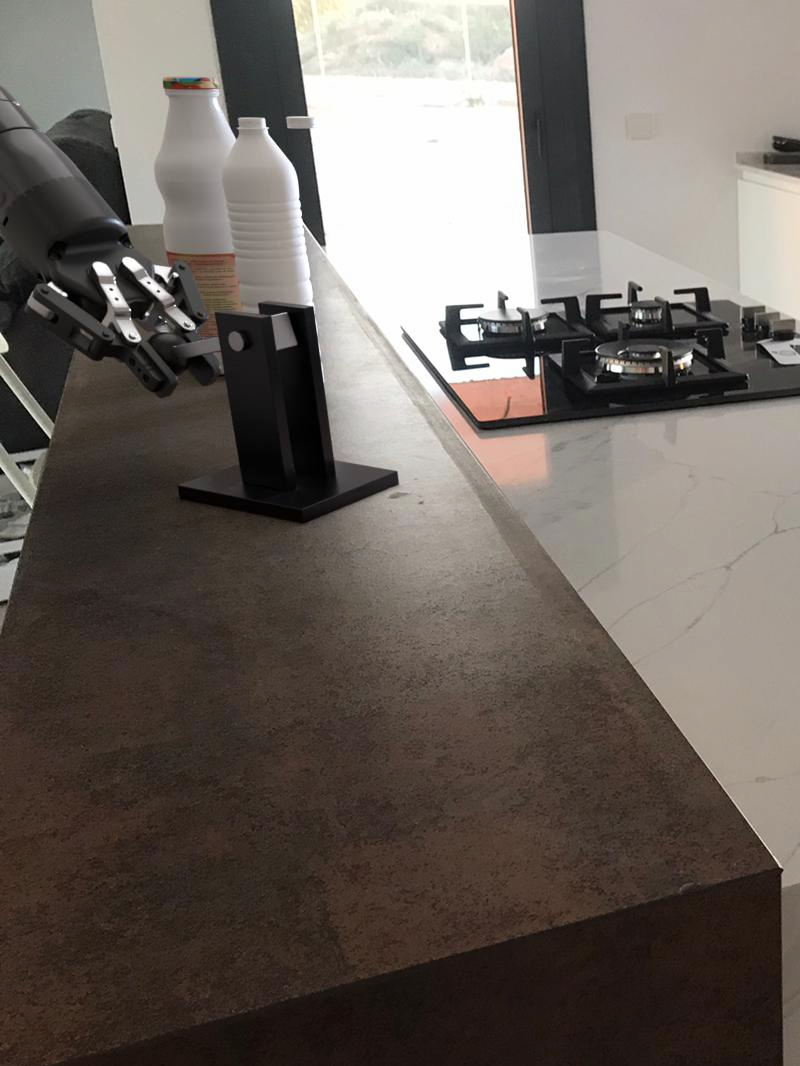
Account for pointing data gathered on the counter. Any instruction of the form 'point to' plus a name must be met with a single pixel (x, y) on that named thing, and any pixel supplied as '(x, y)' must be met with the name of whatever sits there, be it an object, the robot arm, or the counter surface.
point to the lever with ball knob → (210, 344)
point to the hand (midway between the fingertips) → (191, 384)
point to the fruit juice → (198, 193)
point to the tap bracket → (280, 425)
